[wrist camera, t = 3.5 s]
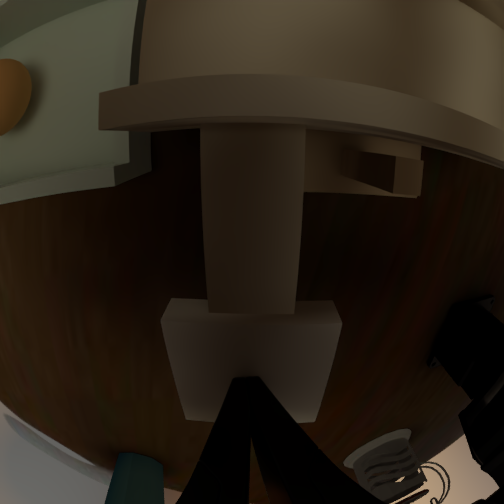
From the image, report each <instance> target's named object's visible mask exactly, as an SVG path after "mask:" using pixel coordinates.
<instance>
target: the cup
mask: <svg viewBox="0 0 504 504" xmlns="http://www.w3.org/2000/svg"><path fill="white" fill-rule="evenodd" d="M105 504H164V485H163V465H162V464H160V463H159V462H157V461H156V460H154V459H153V458H150V457H147V456H143V455H140V454H136V453H119V456H118V459H117V462H116V465H115V469H114V472H113V475H112V479H111V482H110V486H109V489H108V493H107V497H106V500H105Z"/></svg>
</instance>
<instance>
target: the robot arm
mask: <svg viewBox="0 0 504 504" xmlns="http://www.w3.org/2000/svg"><path fill="white" fill-rule="evenodd" d="M494 301H495V297H494V296H493V295H489V296H485V297H481V298H477V299H473V300H469V301H465V302H461V303H457V304H455V305H454V306H453V307H452V308H451V310H450V313H449V316H448V318H447V321H446V323H445V326H444V328H443V330H442V333H441V335H440V337H439V340H438V342H437V344H436V346H435V349H434V351H433V353H432V355H431V357H430V359H429V361H428V363H427V365H428V367H429V368H430V369H431V368H434V367H437V366H439V365H442V366H443V367H444V369H445V370H446V371H447V372H448V374H449V375H450V376H451V378H452V379H453V380H454V381H455V383H456V384H457V385H458V386H461V387H462V388H463V390H464V391H465V392H466V394H467V395H468V396H469V398H470V399H471V400H472V399H473V398H474V399H473V400H472V402H471V403H470V404H469V405H468V406H467V407H466V408H465V409H464V410H462V411H461V412H460V414H459V415H458V416H459V419H460V422H461V425H462V428H463V430H464V433H465V436H466V439H467V442H468V445H469V448H470V451H471V454H472V458H473V459H474V460H476V462H477V463H478V464H479V465H481V470H483V471H484V472H486V473H488V474H489V475H490V476H491V477H492V478H493V479H494V480H495V482H496V483H497V485H498V486H499V489H498V490H497V491H495V492H494V493H493V494H492V495H490V496H489V497H488V498H487V499H486V500H484V499H480V500H477V501H475V502H474V503H472V504H504V324H503V323H502V322H500V321H499V320H498V319H497V318H496V317H495V316H494V315H493V314H491V313H490V311H491V309H492V306H493V304H494ZM251 438H252V443H253V446H254V450H255V454H256V457H257V461H258V464H259V468H260V471H261V475H262V478H263V481H264V485H265V488H266V491H267V495H268V498H269V501H270V504H387V503H385V502H383V501H381V500H380V499H378V498H377V497H375V496H374V495H372V494H371V493H370V492H368V491H367V490H365V489H364V488H363V487H361V486H360V485H359V484H357V483H356V482H355V481H353V480H352V479H351V478H349V477H348V476H347V475H346V474H345V473H343V472H342V471H341V470H340V469H339V468H338V467H337V466H336V465H335V464H334V463H333V462H332V461H331V460H330V459H329V458H328V457H327V456H326V455H325V454H324V453H323V452H322V451H321V450H320V449H318V447H317V445H316V444H315V443H314V442H313V441H312V440H311V439H310V437H309V436H308V435H307V434H306V433H305V432H304V431H303V429H302V428H301V427H300V426H299V425H298V424H297V422H296V421H295V420H294V419H293V418H292V416H291V415H290V414H289V413H288V412H287V410H286V409H285V408H284V407H283V405H282V404H281V403H280V402H279V401H278V399H277V398H276V397H275V396H274V394H273V393H272V392H271V391H270V389H269V388H268V387H267V386H266V384H265V383H264V382H263V380H262V379H261V378H260V377H259V376H250V377H247V378H245V377H235V378H233V379H232V381H231V383H230V386H229V388H228V391H227V393H226V396H225V398H224V401H223V403H222V406H221V408H220V411H219V413H218V416H217V418H216V421H215V423H214V425H213V428H212V430H211V433H210V435H209V437H208V440H207V442H206V445H205V447H204V449H203V452H202V454H201V456H200V459H199V461H198V463H197V465H196V468H195V470H194V472H193V474H192V476H191V478H190V480H189V482H188V484H187V486H186V488H185V489H184V491H183V493H182V494H181V496H180V498H179V499H178V501H177V502H176V504H249V481H250V446H251Z"/></svg>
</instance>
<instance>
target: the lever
mask: <svg viewBox="0 0 504 504" xmlns="http://www.w3.org/2000/svg"><path fill="white" fill-rule="evenodd" d="M194 128H200V159H201V197H202V221H203V240H204V257H205V272H206V286H207V298H208V300H204V299H181V298H171V300H170V302H169V304H168V306H167V308H166V310H165V312H164V314H163V316H162V318H161V320H160V321H161V326H162V330H163V335H164V339H165V344H166V348H167V352H168V356H169V360H170V364H171V368H172V372H173V376H174V380H175V383H176V387H177V391H178V394H179V397H180V401H181V404H182V408H183V411H184V414H185V417H186V419H188V420H197V421H208V422H215V421H216V418H217V416H218V413H219V411H220V408H221V406H222V403H223V401H224V398H225V396H226V393H227V391H228V388H229V386H230V383H231V381H232V379H233V378H235V377H245V378H247V377H250V376H259V377H260V378H261V379H262V380H263V382H264V383H265V384H266V386H267V387H268V388H269V389H270V391H271V392H272V393H273V394H274V396H275V397H276V398H277V399H278V401H279V402H280V403H281V404H282V405H283V407H284V408H285V409H286V410H287V412H288V413H289V414H290V415H291V416H292V418H293V419H294V420H295V421H296V422H297V423H302V422H315V420H316V417H317V414H318V411H319V407H320V404H321V401H322V398H323V395H324V391H325V388H326V385H327V381H328V378H329V374H330V371H331V367H332V363H333V359H334V356H335V352H336V348H337V344H338V340H339V336H340V331H341V327H342V321H341V319H340V316H339V314H338V312H337V309H336V307H335V305H334V302H333V300H325V301H295V300H296V290H297V279H298V267H299V255H300V242H301V227H302V211H303V192H304V169H305V135H306V129H314V130H326V131H336V132H345V133H353V134H360V135H367V136H374V137H380V138H386V139H392V140H397V141H403V142H408V143H413V144H417V145H422V146H426V147H431V148H435V149H439V150H443V151H447V152H450V153H454V154H458V155H461V156H465V157H468V158H471V159H475V160H478V161H481V162H484V163H487V164H490V165H493V166H496V167H499V168H501V169H504V0H147V2H146V8H145V15H144V23H143V31H142V40H141V50H140V63H139V80H138V84H136V85H131V86H126V87H122V88H117V89H113V90H109V91H105V92H101V93H99V111H98V130H105V131H137V132H158V131H168V130H180V129H194Z"/></svg>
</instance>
